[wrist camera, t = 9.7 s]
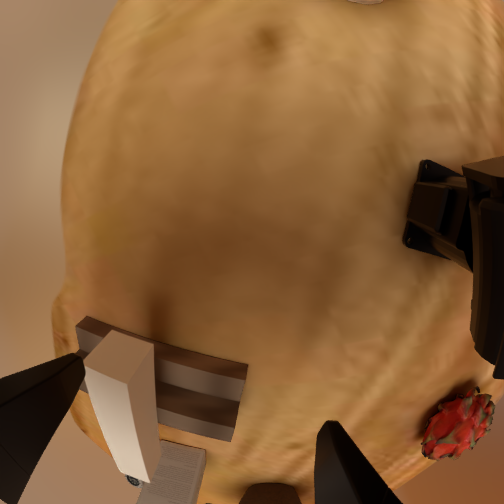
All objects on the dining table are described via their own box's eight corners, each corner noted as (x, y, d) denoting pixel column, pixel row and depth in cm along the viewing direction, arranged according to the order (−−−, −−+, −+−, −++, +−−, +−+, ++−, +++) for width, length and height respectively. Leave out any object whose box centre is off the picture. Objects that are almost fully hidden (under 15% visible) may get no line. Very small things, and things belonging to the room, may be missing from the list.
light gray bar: (153, 344, 16) (127, 384, 12) (161, 454, 21) (150, 483, 17) (111, 329, 16) (80, 363, 12) (133, 444, 21) (120, 471, 17)
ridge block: (248, 364, 22) (240, 407, 17) (234, 417, 24) (226, 455, 19) (86, 316, 22) (56, 342, 17) (96, 373, 25) (75, 400, 20)
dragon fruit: (477, 361, 22) (417, 417, 27) (464, 385, 17) (389, 445, 22) (511, 402, 16) (446, 454, 21) (504, 436, 11) (422, 488, 16)
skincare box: (165, 452, 28) (140, 518, 17) (161, 438, 27) (131, 509, 16) (207, 462, 28) (189, 532, 17) (207, 449, 27) (186, 526, 15)
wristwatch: (145, 458, 30) (135, 481, 25) (160, 474, 32) (152, 496, 27) (127, 453, 30) (116, 475, 26) (143, 471, 32) (135, 491, 27)
